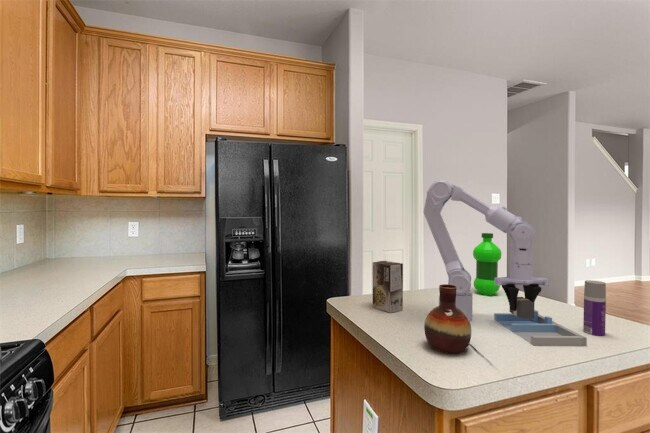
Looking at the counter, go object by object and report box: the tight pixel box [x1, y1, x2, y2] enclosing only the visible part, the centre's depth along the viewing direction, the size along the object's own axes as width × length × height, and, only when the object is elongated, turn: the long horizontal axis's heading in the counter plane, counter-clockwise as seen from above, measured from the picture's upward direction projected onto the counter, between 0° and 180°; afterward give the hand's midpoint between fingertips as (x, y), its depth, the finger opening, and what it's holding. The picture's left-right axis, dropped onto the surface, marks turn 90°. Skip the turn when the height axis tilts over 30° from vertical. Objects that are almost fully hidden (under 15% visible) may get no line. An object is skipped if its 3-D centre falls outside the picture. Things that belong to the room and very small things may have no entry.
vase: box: [423, 284, 472, 355], centre depth 84 cm, size 11×11×15 cm
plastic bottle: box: [472, 232, 502, 296], centre depth 139 cm, size 10×10×25 cm
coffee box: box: [371, 260, 404, 314], centre depth 117 cm, size 9×6×16 cm
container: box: [582, 279, 607, 337], centre depth 92 cm, size 5×5×15 cm
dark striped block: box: [509, 296, 535, 319], centre depth 97 cm, size 4×6×5 cm, turn 0°
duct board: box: [493, 309, 588, 347], centre depth 93 cm, size 13×20×4 cm, turn 0°
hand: (520, 310), depth 97 cm, fingers closed on dark striped block, 4 cm apart
